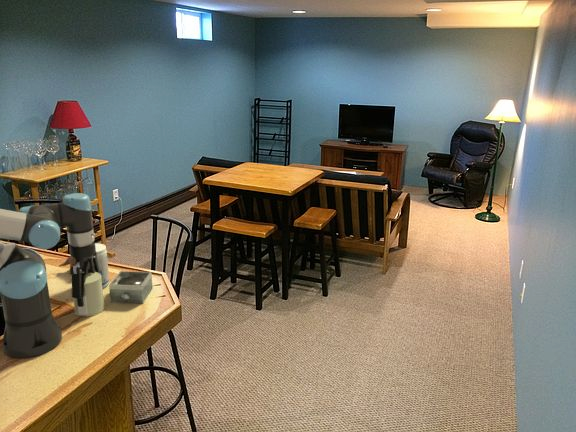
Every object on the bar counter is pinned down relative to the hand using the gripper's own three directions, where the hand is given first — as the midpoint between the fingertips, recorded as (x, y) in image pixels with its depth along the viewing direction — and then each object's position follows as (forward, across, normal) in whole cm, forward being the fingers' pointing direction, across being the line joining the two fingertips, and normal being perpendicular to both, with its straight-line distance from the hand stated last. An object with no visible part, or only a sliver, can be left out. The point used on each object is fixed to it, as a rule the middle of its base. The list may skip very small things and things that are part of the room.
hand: (89, 306), depth 156 cm
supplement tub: (+1, +17, +5) cm, 18 cm away
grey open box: (+1, +10, -10) cm, 15 cm away
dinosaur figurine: (+1, +28, +16) cm, 32 cm away
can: (+1, 0, 0) cm, 1 cm away
